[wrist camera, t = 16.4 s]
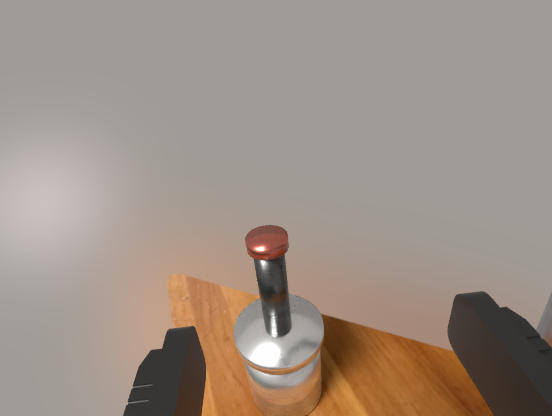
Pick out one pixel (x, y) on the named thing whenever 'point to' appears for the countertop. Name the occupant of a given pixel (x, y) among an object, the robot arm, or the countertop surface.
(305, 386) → the pot
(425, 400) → the countertop surface
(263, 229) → the lid
